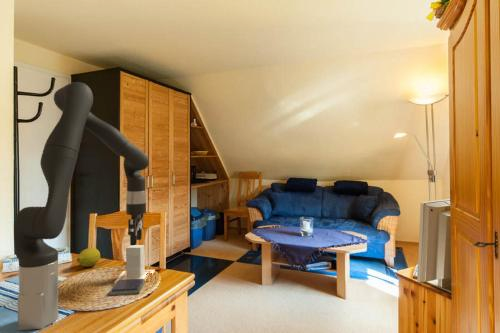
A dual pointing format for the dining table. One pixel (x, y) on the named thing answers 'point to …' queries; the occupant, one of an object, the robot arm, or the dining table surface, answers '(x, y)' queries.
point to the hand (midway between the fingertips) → (136, 242)
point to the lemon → (88, 257)
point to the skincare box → (135, 261)
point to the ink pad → (127, 286)
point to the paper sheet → (123, 277)
